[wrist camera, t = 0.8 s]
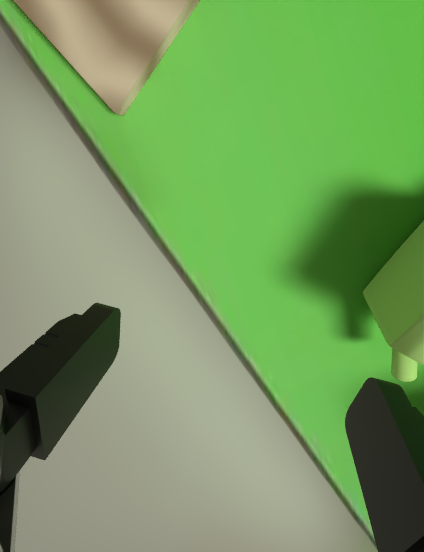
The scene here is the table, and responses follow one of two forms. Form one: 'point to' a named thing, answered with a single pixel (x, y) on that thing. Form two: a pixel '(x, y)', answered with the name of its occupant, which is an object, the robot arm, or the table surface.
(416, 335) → the lime tabbed block
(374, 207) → the table surface
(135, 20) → the beige wavy board
